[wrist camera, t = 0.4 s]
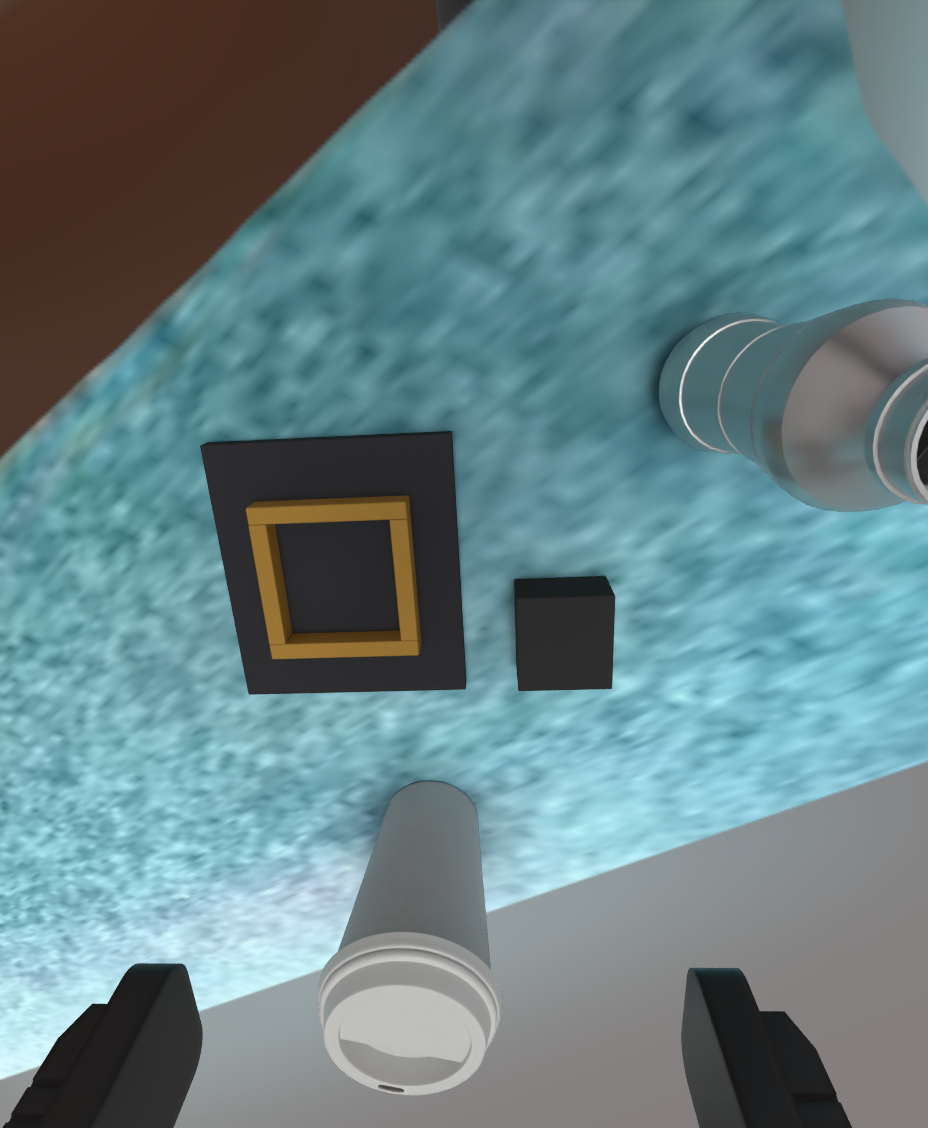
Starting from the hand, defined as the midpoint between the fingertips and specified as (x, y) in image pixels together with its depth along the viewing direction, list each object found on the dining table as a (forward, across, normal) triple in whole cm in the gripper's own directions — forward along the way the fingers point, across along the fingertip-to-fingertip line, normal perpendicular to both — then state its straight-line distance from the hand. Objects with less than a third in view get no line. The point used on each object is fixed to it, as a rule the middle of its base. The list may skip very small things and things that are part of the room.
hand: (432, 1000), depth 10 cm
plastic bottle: (+28, -13, -7) cm, 32 cm away
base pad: (+28, +8, +3) cm, 30 cm away
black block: (+28, -5, +7) cm, 30 cm away
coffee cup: (+29, +4, +22) cm, 36 cm away
